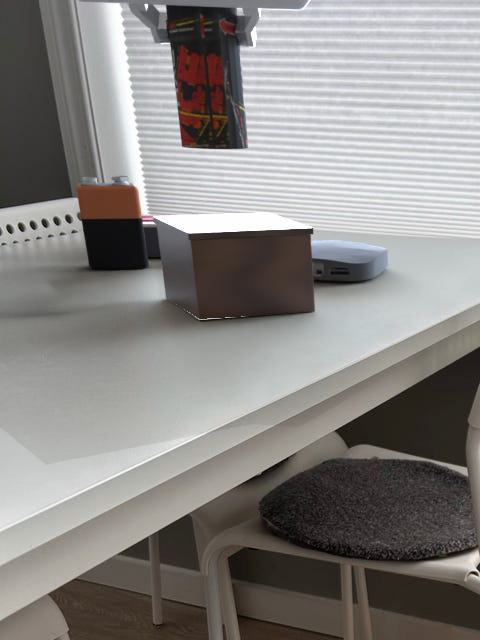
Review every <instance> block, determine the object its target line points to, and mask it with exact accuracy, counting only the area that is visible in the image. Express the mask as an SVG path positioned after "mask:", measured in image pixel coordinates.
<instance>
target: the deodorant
mask: <svg viewBox="0 0 480 640" xmlns="http://www.w3.org/2000/svg"><path fill="white" fill-rule="evenodd" d="M165 9H166V11H165V12H166V13H167V19H168V28H169V37H170V44H169V45H170V55H171V62H172V73H173V80H174V89H175V98H176V107H177V115H178V124H179V125H178V126H179V133H180V141H181V142H180V143H181V147H182V148H187V149H199V150H244V149H245V150H246V149H249V141H248V127H247V116H246V104H245V93H244V80H243V79H244V78H243V67H242V56H241V46H239V45H238V43H237V41H238V40H237V39H236V36H235V25H236V15H238V8H229V7H203V6H178V5H165Z"/></svg>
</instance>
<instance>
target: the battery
mask: <svg viewBox="0 0 480 640" xmlns="http://www.w3.org/2000/svg"><path fill="white" fill-rule="evenodd" d="M81 179H82V182H79V183H77V184H76V185H75V189H76V195H77V201H78V207H79V214H80V219H81V227H82V231H83V237H84V243H85V248H86V254H87V255H86V256H87V259H88V260H87V261H88V266H89V268H90V269H91V270H93V271H101V270H103V271H104V270H135V269H136V270H137V269H139V270H141V269H147V268H148V267H149V257H147V250H146V243H145V235H144V228H143V221H142V215H143V214H142V207H141V199H140V193H139V189H138V186H137V185H136V184H135V183H133V182H128V181H130V177H129V175H111V176H110V179H111V181H113V182H98V180H97V177H96V176H83V177H82V178H81Z"/></svg>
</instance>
